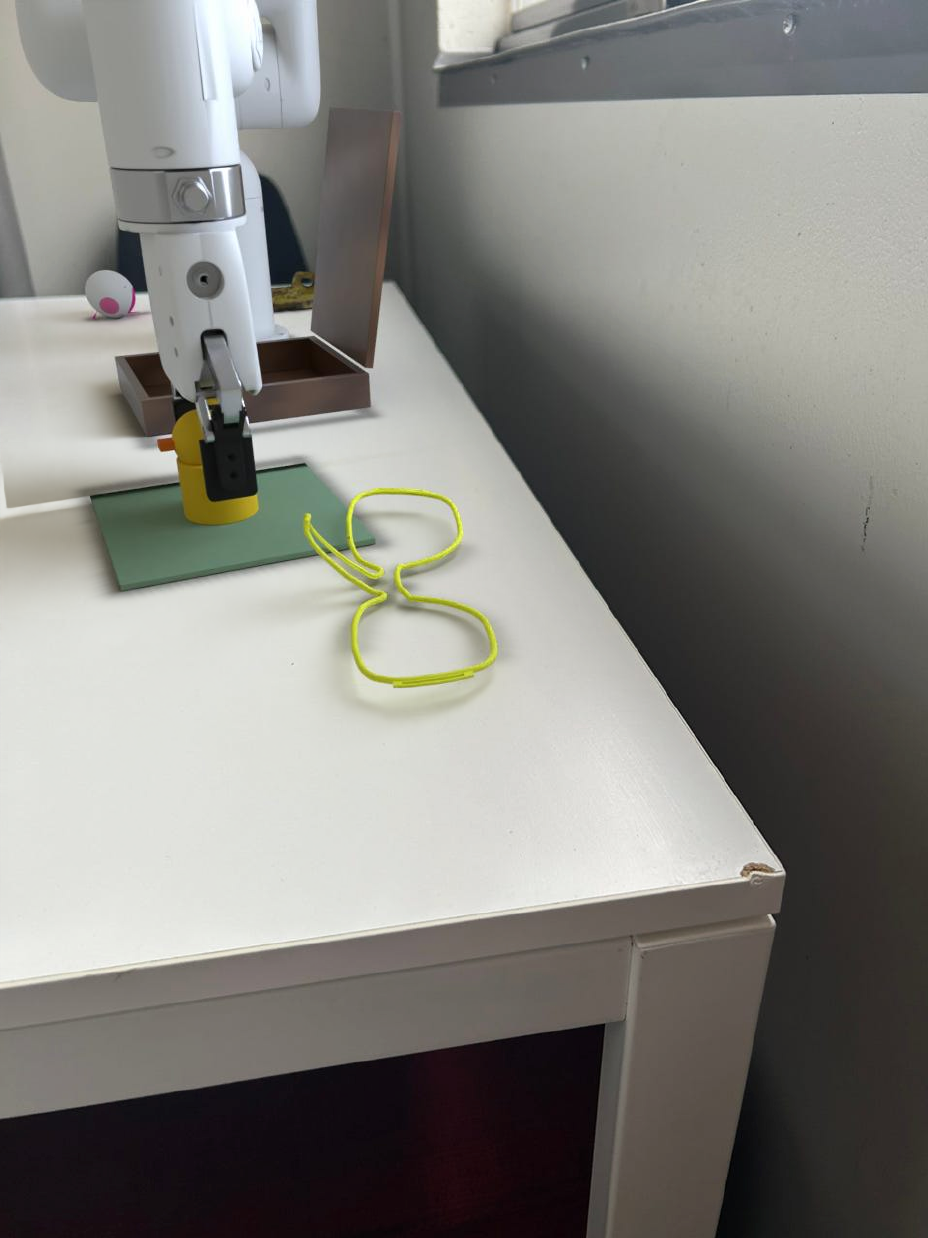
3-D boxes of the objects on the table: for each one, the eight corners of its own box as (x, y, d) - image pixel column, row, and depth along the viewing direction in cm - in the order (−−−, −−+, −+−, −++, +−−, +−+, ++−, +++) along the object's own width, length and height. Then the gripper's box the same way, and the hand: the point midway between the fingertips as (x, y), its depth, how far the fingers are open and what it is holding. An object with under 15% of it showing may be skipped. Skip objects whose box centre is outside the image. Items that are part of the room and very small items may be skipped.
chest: (148, 446, 82) (141, 401, 80) (121, 395, 95) (114, 356, 93) (371, 415, 89) (369, 373, 87) (317, 372, 102) (314, 335, 100)
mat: (87, 491, 73) (86, 486, 73) (298, 459, 78) (297, 454, 78) (121, 591, 58) (119, 585, 58) (375, 543, 64) (375, 537, 64)
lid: (392, 109, 78) (402, 111, 79) (329, 106, 92) (337, 108, 92) (364, 367, 87) (373, 368, 87) (310, 330, 100) (317, 331, 100)
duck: (249, 493, 71) (237, 394, 68) (266, 517, 67) (255, 414, 64) (164, 506, 69) (147, 405, 65) (177, 532, 65) (160, 426, 61)
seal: (216, 322, 129) (331, 316, 131) (211, 285, 126) (329, 280, 128) (219, 300, 136) (328, 295, 138) (214, 265, 134) (325, 260, 136)
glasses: (509, 700, 48) (513, 614, 45) (304, 712, 47) (296, 625, 44) (452, 501, 69) (453, 435, 67) (311, 506, 68) (306, 440, 66)
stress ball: (140, 345, 127) (163, 299, 126) (81, 315, 122) (104, 266, 121) (125, 332, 133) (147, 287, 132) (68, 303, 128) (90, 256, 126)
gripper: (280, 211, 53) (307, 509, 61) (212, 184, 67) (242, 430, 75) (137, 219, 50) (185, 530, 59) (97, 190, 64) (141, 444, 73)
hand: (217, 473), depth 67 cm, fingers open, 8 cm apart
